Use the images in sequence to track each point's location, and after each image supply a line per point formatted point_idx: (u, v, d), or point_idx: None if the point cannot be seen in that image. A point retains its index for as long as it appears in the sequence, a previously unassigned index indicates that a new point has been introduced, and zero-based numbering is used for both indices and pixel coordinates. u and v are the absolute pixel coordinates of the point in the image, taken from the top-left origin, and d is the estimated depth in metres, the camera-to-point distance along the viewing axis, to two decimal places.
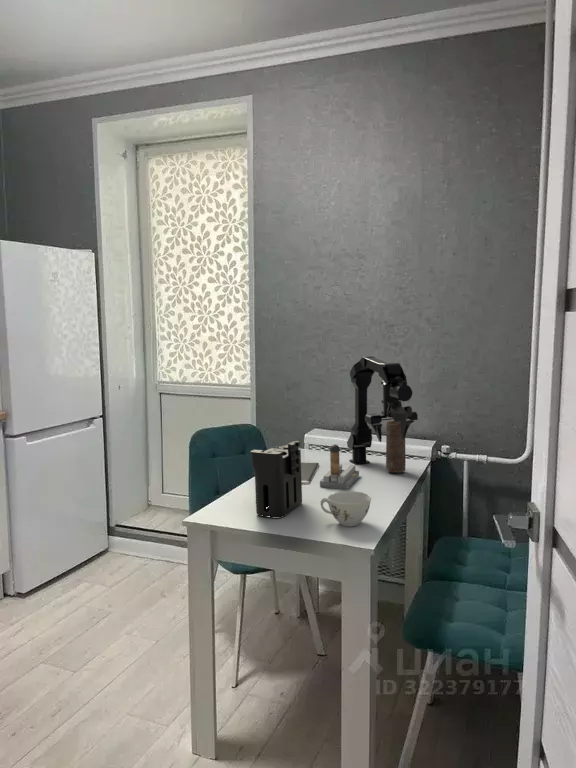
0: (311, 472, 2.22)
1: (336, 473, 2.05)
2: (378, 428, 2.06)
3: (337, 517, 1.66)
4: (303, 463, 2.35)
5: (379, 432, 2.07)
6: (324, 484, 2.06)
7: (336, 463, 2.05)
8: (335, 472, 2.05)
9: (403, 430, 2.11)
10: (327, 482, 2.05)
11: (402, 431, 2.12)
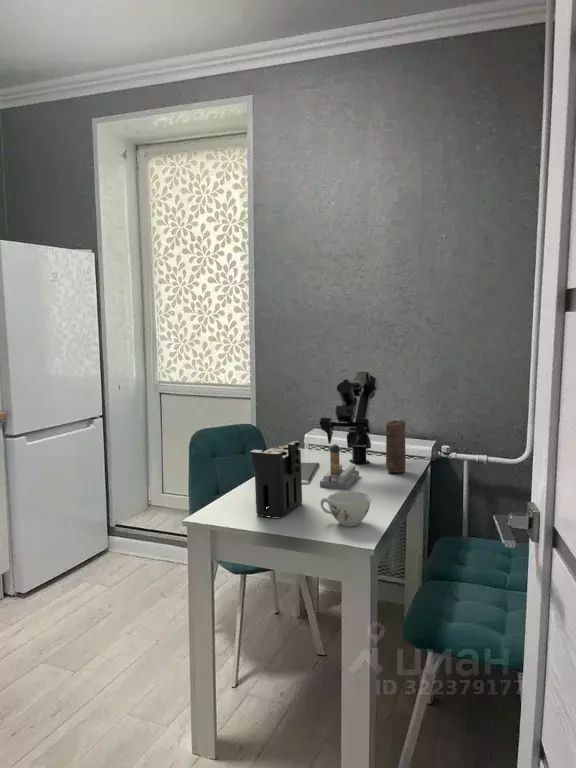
0: (311, 472, 2.22)
1: (336, 473, 2.05)
2: (327, 428, 2.17)
3: (337, 517, 1.66)
4: (303, 463, 2.35)
5: (328, 433, 2.16)
6: (324, 484, 2.06)
7: (336, 463, 2.05)
8: (335, 472, 2.05)
9: None
10: (327, 482, 2.05)
11: None
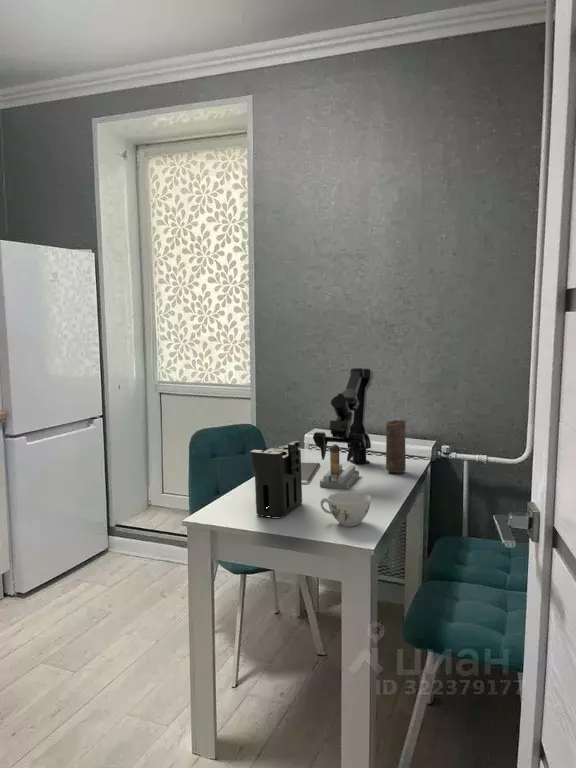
0: (311, 472, 2.22)
1: (336, 473, 2.05)
2: (320, 444, 2.10)
3: (337, 517, 1.66)
4: (304, 463, 2.35)
5: (321, 448, 2.09)
6: (324, 484, 2.06)
7: (336, 463, 2.05)
8: (335, 472, 2.05)
9: None
10: (327, 482, 2.05)
11: None
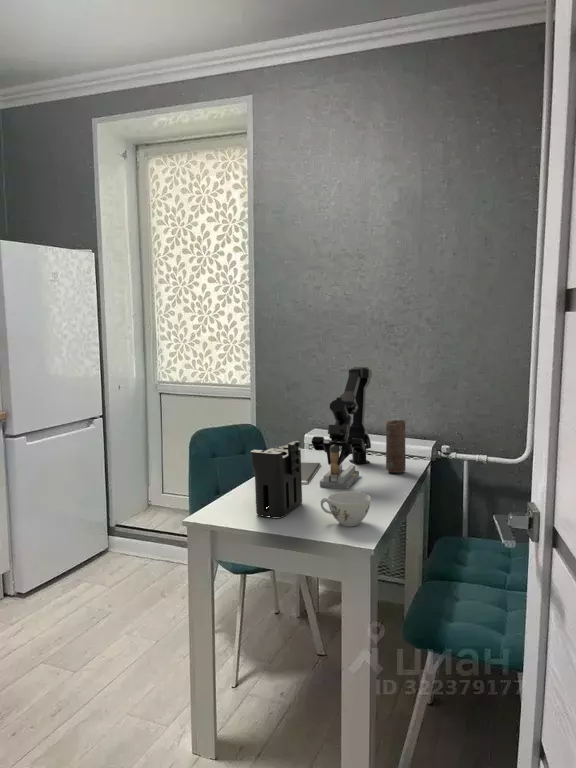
0: (311, 472, 2.22)
1: (336, 473, 2.05)
2: (327, 449, 2.08)
3: (337, 517, 1.66)
4: (305, 463, 2.35)
5: (328, 453, 2.07)
6: (324, 484, 2.06)
7: (336, 463, 2.05)
8: (335, 472, 2.05)
9: None
10: (327, 482, 2.05)
11: None
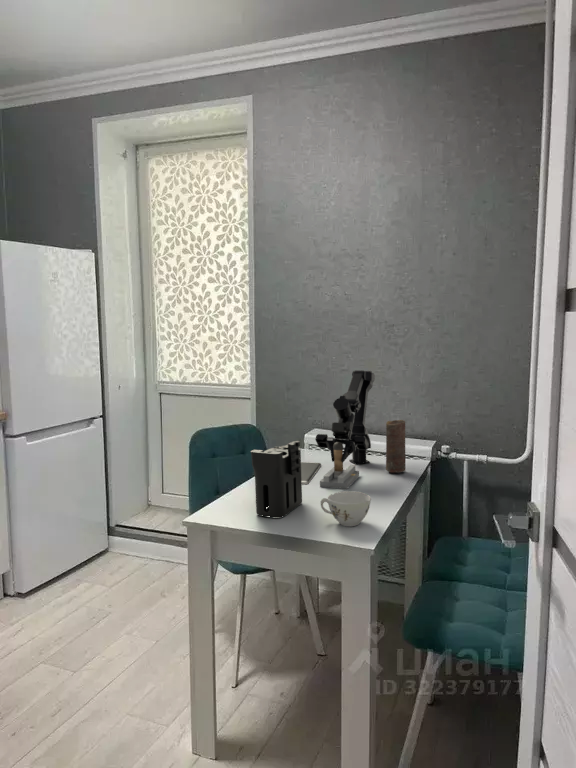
0: (311, 472, 2.22)
1: (339, 470, 2.09)
2: (330, 446, 2.12)
3: (337, 517, 1.66)
4: (305, 463, 2.35)
5: (331, 450, 2.11)
6: (324, 484, 2.06)
7: (340, 460, 2.09)
8: (339, 469, 2.09)
9: None
10: (327, 482, 2.05)
11: None
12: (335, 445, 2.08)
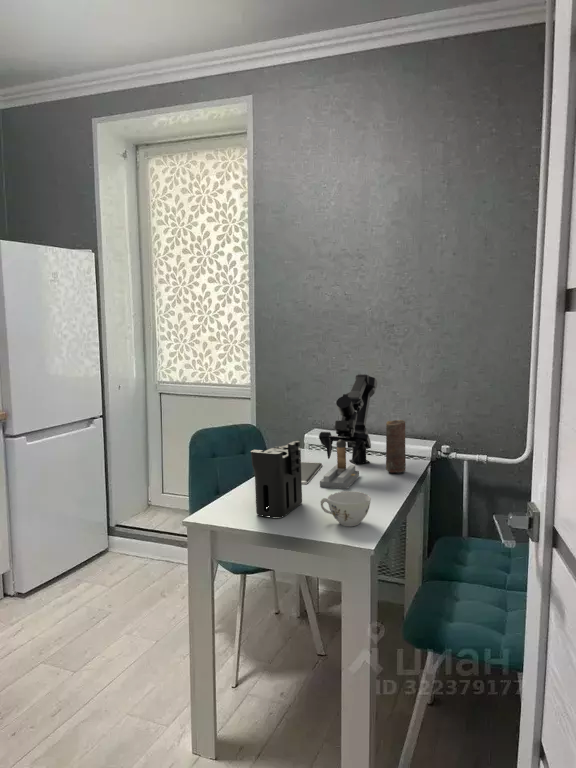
0: (311, 472, 2.22)
1: (343, 467, 2.13)
2: (326, 443, 2.17)
3: (337, 517, 1.66)
4: (306, 463, 2.35)
5: (327, 447, 2.16)
6: (324, 484, 2.06)
7: (343, 458, 2.12)
8: (342, 466, 2.13)
9: None
10: (327, 482, 2.05)
11: None
12: (338, 443, 2.12)
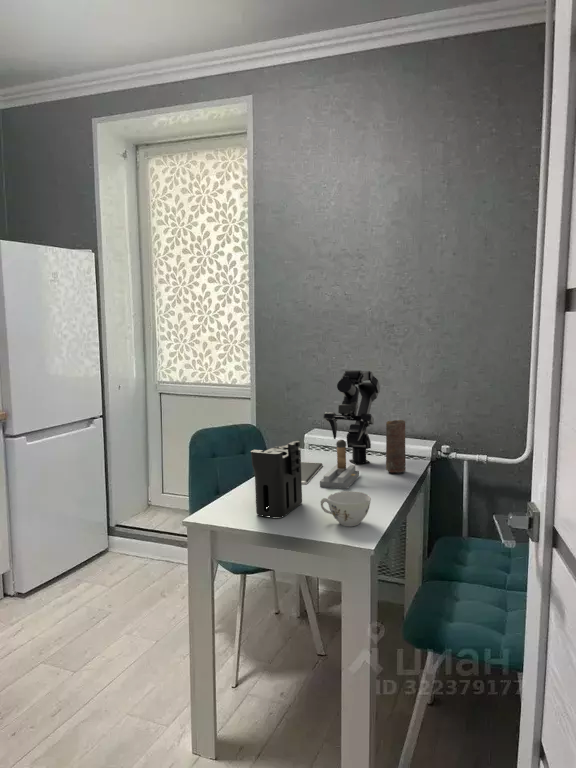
0: (311, 472, 2.21)
1: (343, 467, 2.13)
2: (331, 424, 2.24)
3: (337, 517, 1.66)
4: (307, 463, 2.35)
5: (332, 428, 2.23)
6: (324, 484, 2.06)
7: (343, 458, 2.12)
8: (342, 466, 2.13)
9: None
10: (327, 482, 2.05)
11: None
12: (338, 443, 2.12)
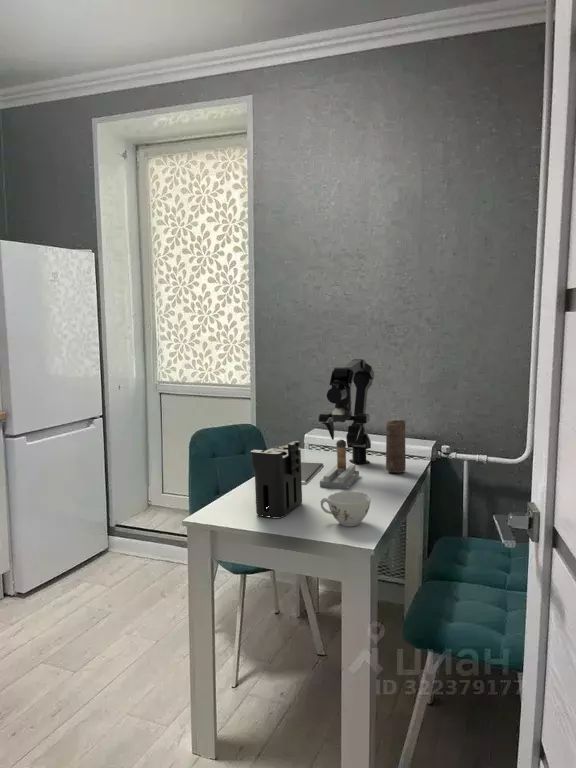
0: (311, 472, 2.21)
1: (343, 467, 2.13)
2: (327, 426, 2.22)
3: (337, 517, 1.66)
4: (307, 463, 2.35)
5: (329, 430, 2.22)
6: (324, 484, 2.06)
7: (343, 458, 2.12)
8: (342, 466, 2.13)
9: None
10: (327, 482, 2.05)
11: None
12: (338, 443, 2.12)
